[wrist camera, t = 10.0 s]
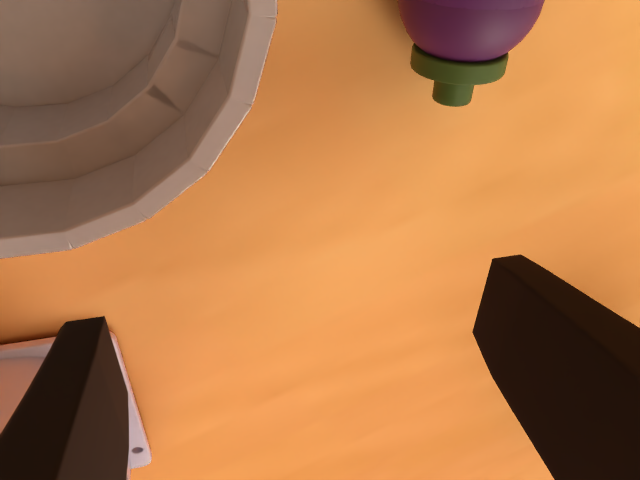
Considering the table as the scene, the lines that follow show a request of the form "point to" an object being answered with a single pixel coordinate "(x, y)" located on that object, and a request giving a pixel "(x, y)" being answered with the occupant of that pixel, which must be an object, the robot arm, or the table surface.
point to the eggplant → (464, 41)
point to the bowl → (117, 109)
